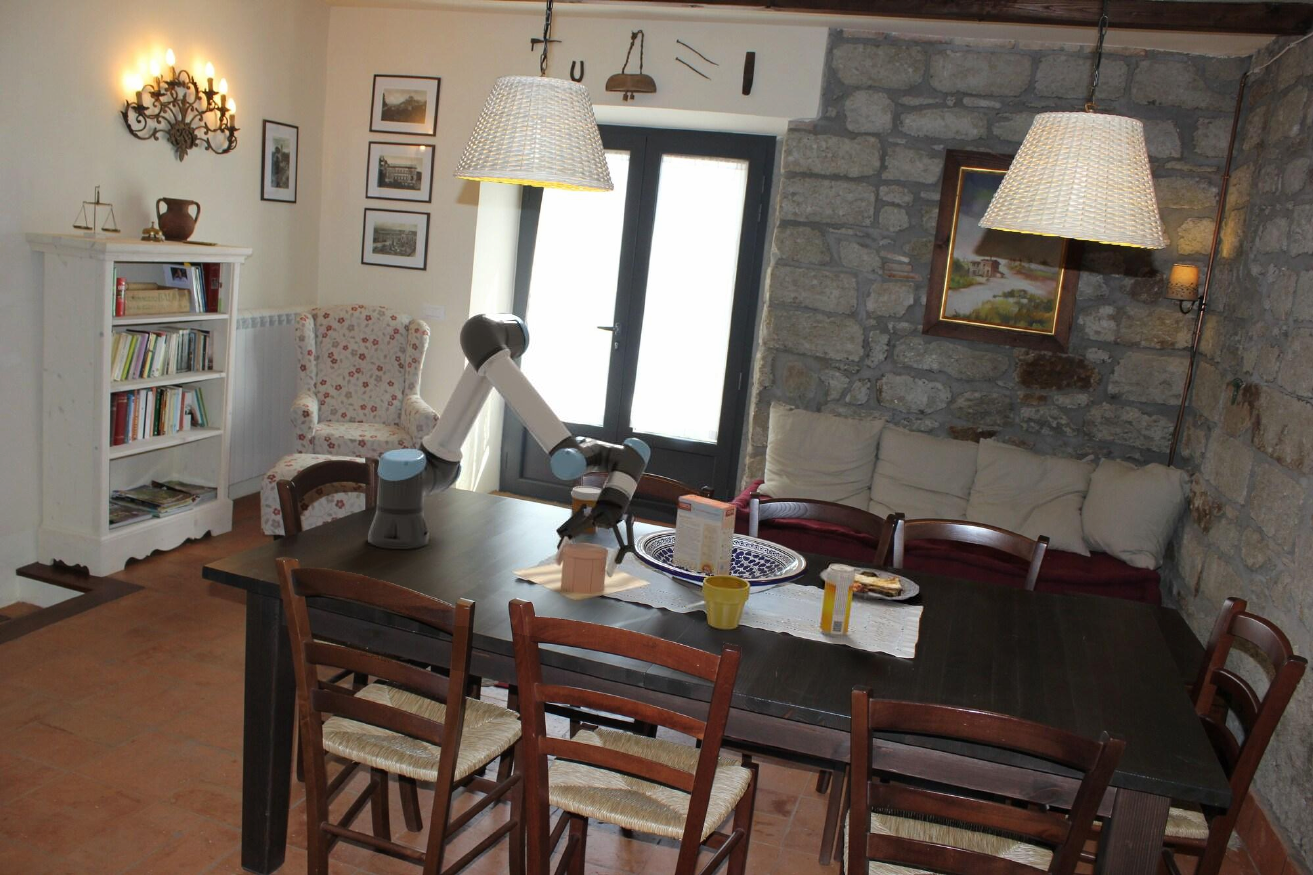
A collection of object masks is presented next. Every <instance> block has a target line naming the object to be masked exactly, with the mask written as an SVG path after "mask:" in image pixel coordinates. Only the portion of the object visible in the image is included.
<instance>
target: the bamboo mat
mask: <svg viewBox="0 0 1313 875" xmlns="http://www.w3.org/2000/svg"><path fill="white" fill-rule="evenodd" d="M562 565H563V561H562V563H561V565H560V566H558V565H557V564H556V562H555V563H550V564H545V565H539V566H535V567H529V568H522V569H519V570H514V571H511V573H513V574H515V575H517V576H519V577H522V578H523V579H526V580H528V581H531V582H533V583H535V584H537V585H540V586H542V587H544V588H547V589H549V590H550V591H554V592H555V593H558V594H559V595H561V596H564V597H567V598H569V599H570V600H574V601H575V602H578V601H583V600H587V599H592V598H595V597H600V596H605V595H609V594H613V593H619V592H623V591H626V590H630V589H635V588H639V587H644V586H648V585H652V583H651V582H649V581H646V580H643V579H641V578H638V577H636V576H633V575H631V574H628V573H625V572H624V571H621V570H619V569H616V568H615V571H614V573H613V575H612V577H608V575H607V573H606V572H605V584H604V591H601V592H596V593H592V594H586V593H575V592H571V591H568V590H566V589H564V588H561V578H562ZM607 566H608V565H606V569H607Z"/></svg>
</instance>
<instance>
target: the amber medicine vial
mask: <svg viewBox="0 0 1313 875" xmlns="http://www.w3.org/2000/svg"><path fill="white" fill-rule="evenodd" d="M852 567H853V566H850V565H848V564H842V563H831V564H830V565H829V566H828V568H826V569H827V574H826V582H825V581H824V583H825V584H824V592H823V602H822V608H821V614H820V615H821V616H820V623H819V624H820V625H819V628H820V630H821V632H822V633H823V634H825V635H827V636H830V637H833V638H834V637H835V638H838V637H839V638H840V637H844V636H846V634H847V633H848V631H849V624H850V617H851V610H852V609H851V608H852V601H853V595H854V594H853V587H854V579H855V573H854V568H852Z"/></svg>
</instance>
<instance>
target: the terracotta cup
mask: <svg viewBox="0 0 1313 875" xmlns="http://www.w3.org/2000/svg"><path fill="white" fill-rule="evenodd" d="M563 553H564V554H563V561H562V562H563V565H562V578H561V588H564V589H566V590H568V591H571V592H575V593H586V594H592V593H596V592H601V591H604V584H605V572H606V566H607V560H608V559H607V558H608V555H609V554H608V553H609V550H608V548H607V547H605V546H603V545H600V544H599V545H598V544H595V543H588V542H574V543H571V544H568V545H566V546H564V548H563Z"/></svg>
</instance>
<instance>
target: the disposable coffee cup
mask: <svg viewBox="0 0 1313 875" xmlns="http://www.w3.org/2000/svg"><path fill="white" fill-rule="evenodd" d="M602 489H603V488H599V487H595V486H588V485H580V486H575V487H573V488H572V491H570V494H571V501H572V502H571V503H572V516H573V515H574V514H575V513H576V512H577V511H578V510H579V509H580V507H581V505H582V504H586V505H587V507H591V508H593V507H594V506H595V505H596V501H597V499H598V496H599V494H600V492H601V490H602ZM589 515H591V513H590V514H588V516H589ZM586 517H587V516H586ZM586 517H585V518H584V519H583V520H585V519H586ZM583 520H582V521H583ZM591 522H593V520H591ZM596 529H597V526H595V527H594V528H589V529H588V530H586V531H584V532H583V533H582V534H592V533H595V532H597V531H596Z"/></svg>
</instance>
